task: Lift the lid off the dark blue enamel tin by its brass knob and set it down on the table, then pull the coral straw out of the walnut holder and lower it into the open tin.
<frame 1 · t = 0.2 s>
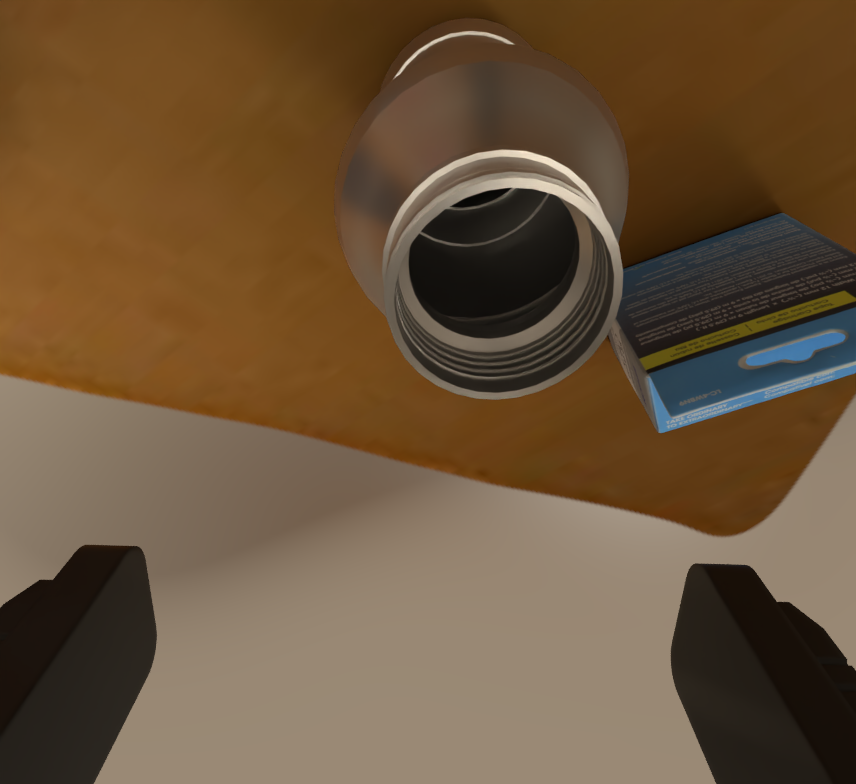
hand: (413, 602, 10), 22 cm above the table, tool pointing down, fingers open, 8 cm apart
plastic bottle: (460, 108, 28), on the table
label tape box: (689, 276, 31), on the table
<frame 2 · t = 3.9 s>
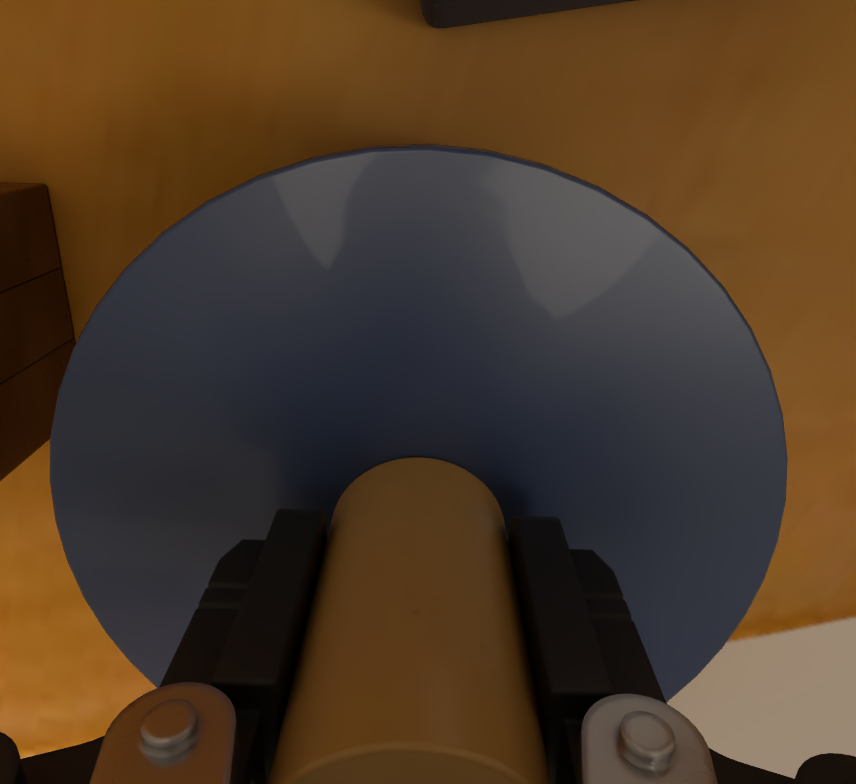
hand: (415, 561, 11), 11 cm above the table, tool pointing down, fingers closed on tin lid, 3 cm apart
tin lid: (418, 512, 12), point 10 cm above the table, touching gripper, tin
when the fingers open (2 cm above the table, at t = 13.8 s): tin lid stays where it is, point 1 cm above the table.
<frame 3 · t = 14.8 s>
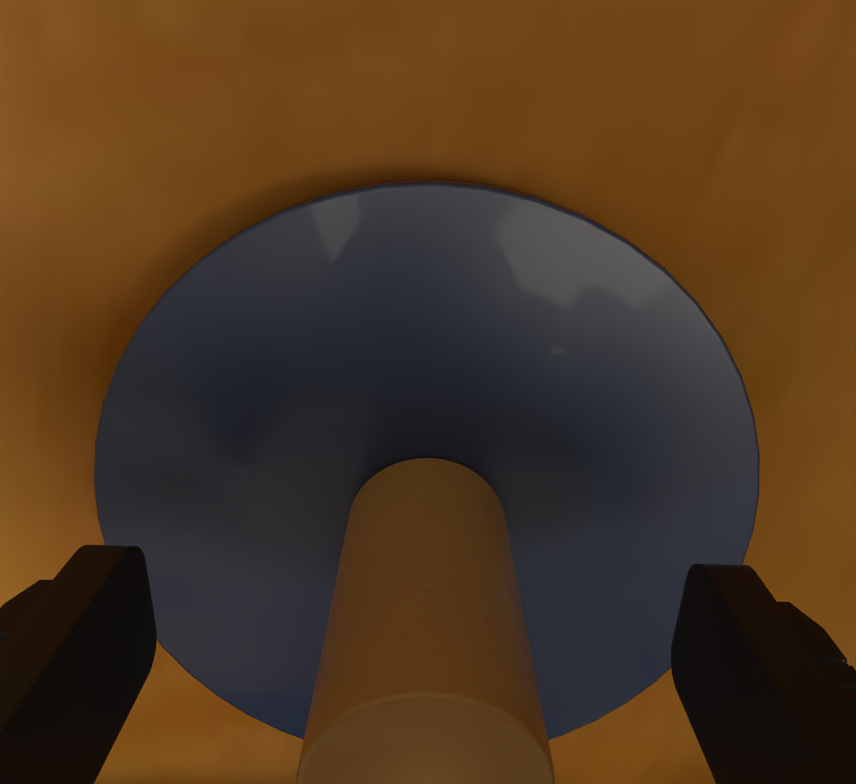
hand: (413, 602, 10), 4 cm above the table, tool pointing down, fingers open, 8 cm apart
tin lid: (426, 508, 13), point 1 cm above the table
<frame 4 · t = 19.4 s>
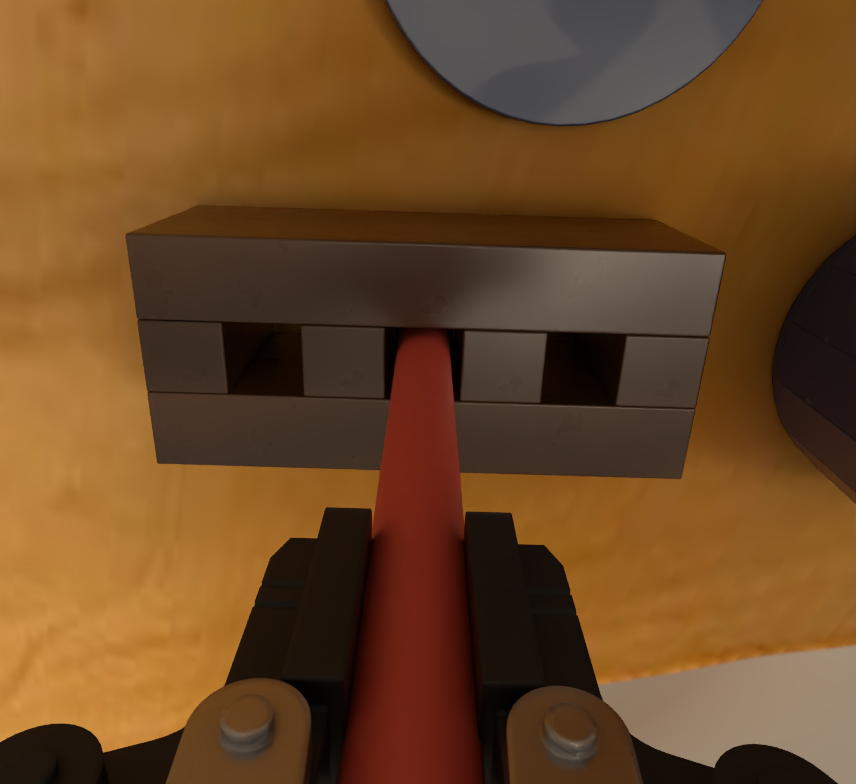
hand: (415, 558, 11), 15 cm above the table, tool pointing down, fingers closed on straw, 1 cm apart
straw holder: (425, 309, 25), on the table
straw: (421, 425, 16), in the straw holder, touching gripper
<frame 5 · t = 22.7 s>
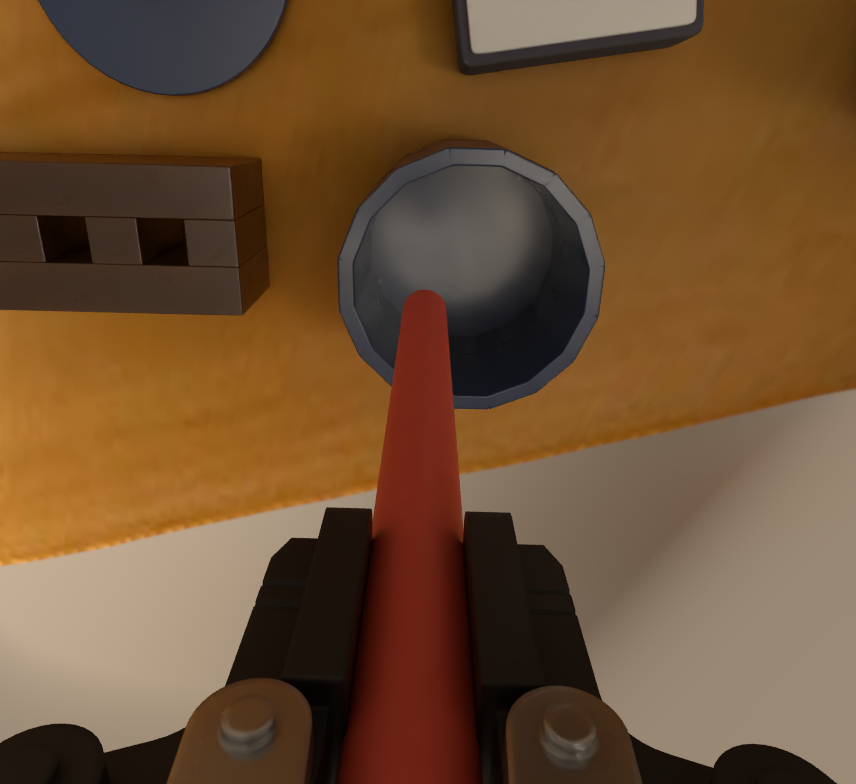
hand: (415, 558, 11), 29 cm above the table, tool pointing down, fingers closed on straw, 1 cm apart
straw holder: (119, 221, 37), on the table
straw: (420, 426, 16), point 24 cm above the table, touching gripper
tin: (461, 248, 38), on the table
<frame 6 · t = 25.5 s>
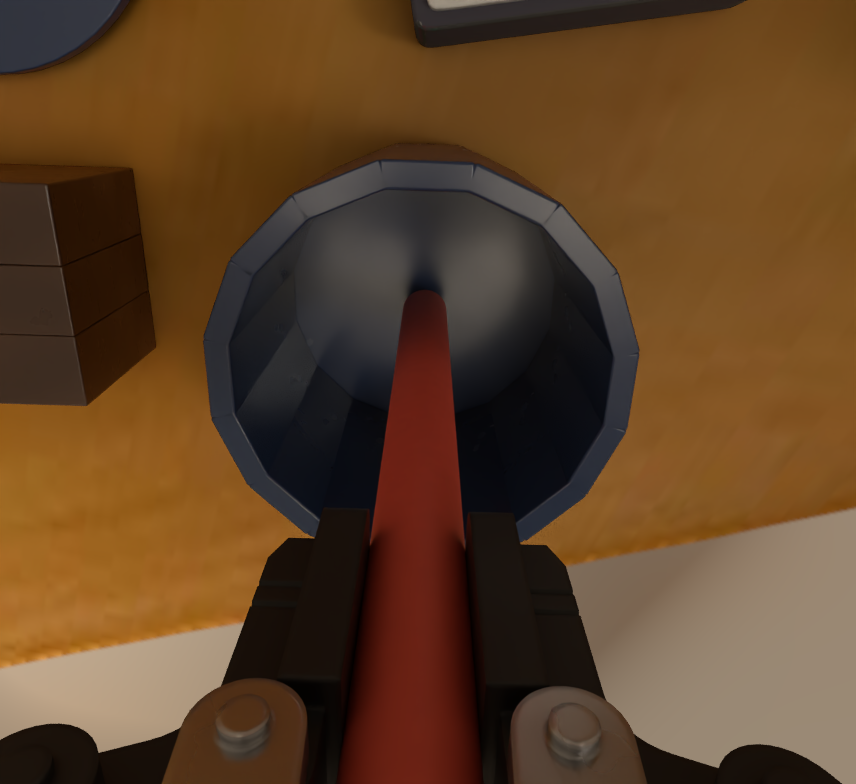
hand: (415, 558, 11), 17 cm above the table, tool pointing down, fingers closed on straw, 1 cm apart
straw: (421, 427, 16), in the tin, point 12 cm above the table, touching gripper
tin: (423, 296, 27), on the table
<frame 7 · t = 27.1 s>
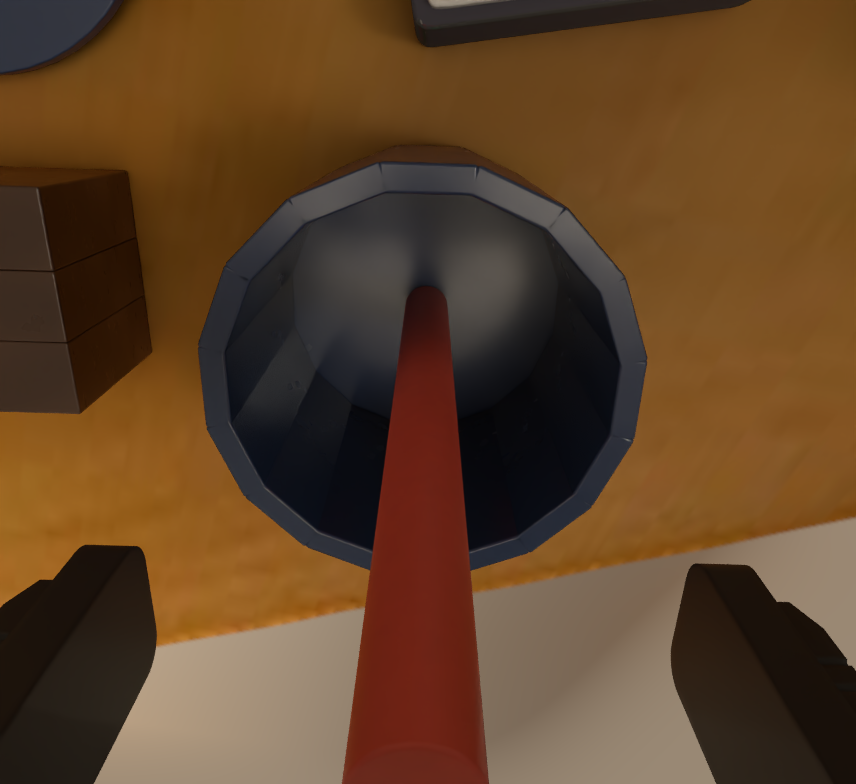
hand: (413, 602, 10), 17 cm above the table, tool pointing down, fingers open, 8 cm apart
straw: (424, 413, 16), in the tin
tin: (424, 300, 26), on the table
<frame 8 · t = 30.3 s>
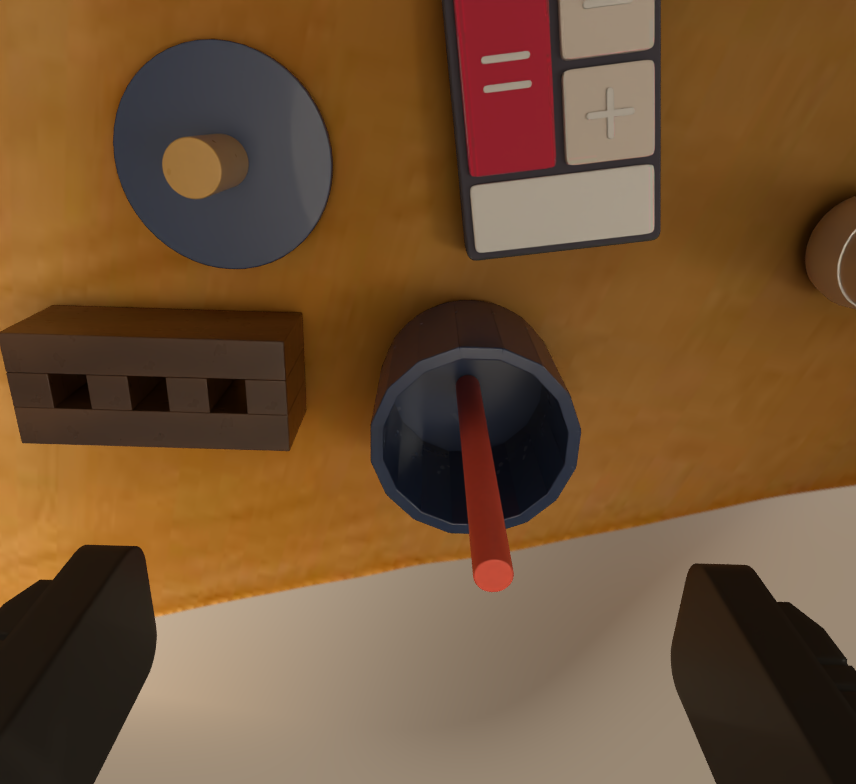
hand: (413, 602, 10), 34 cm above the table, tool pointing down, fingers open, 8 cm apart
straw holder: (183, 359, 45), on the table
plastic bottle: (842, 243, 42), on the table
tin lid: (225, 160, 39), point 1 cm above the table
straw: (477, 456, 36), in the tin
tin: (466, 381, 45), on the table
calculator: (546, 111, 39), on the table
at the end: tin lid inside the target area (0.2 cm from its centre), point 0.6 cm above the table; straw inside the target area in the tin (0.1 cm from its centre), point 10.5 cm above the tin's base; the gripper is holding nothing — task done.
